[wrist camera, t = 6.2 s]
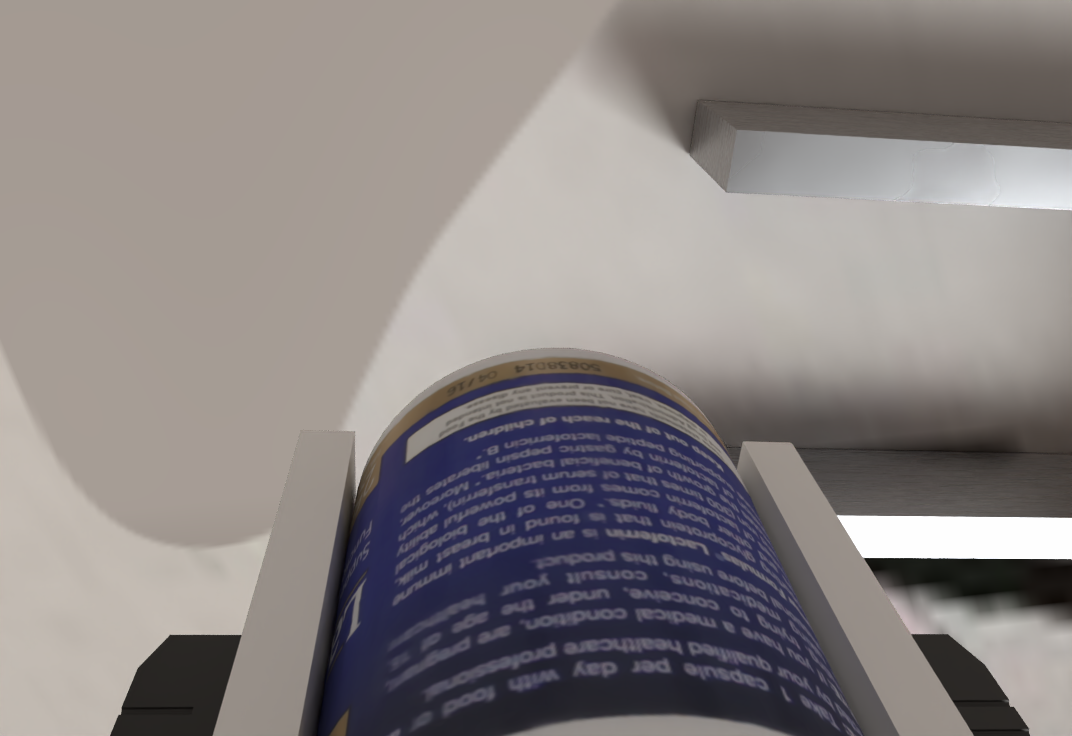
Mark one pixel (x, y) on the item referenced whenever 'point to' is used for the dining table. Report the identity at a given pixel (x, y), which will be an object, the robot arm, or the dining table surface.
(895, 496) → the rail cradle
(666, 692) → the pill bottle
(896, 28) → the dining table surface
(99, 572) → the dining table surface
